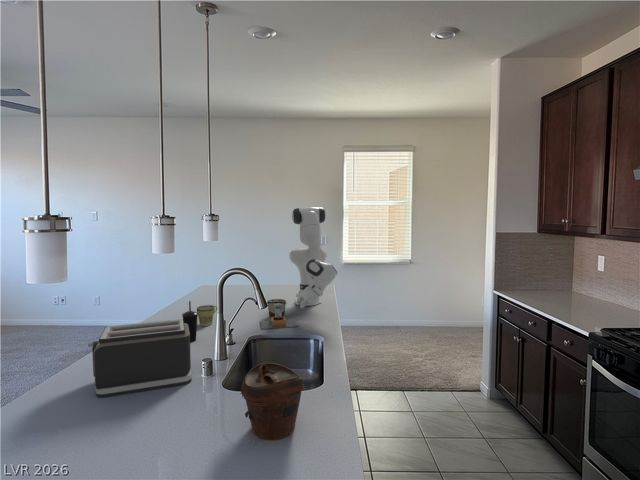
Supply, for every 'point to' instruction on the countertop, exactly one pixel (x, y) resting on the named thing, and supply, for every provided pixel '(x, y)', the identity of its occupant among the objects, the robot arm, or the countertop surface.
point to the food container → (272, 308)
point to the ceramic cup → (206, 314)
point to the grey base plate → (278, 323)
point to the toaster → (141, 357)
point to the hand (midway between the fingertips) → (299, 305)
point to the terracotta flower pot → (272, 399)
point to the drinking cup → (191, 322)
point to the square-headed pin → (278, 311)
